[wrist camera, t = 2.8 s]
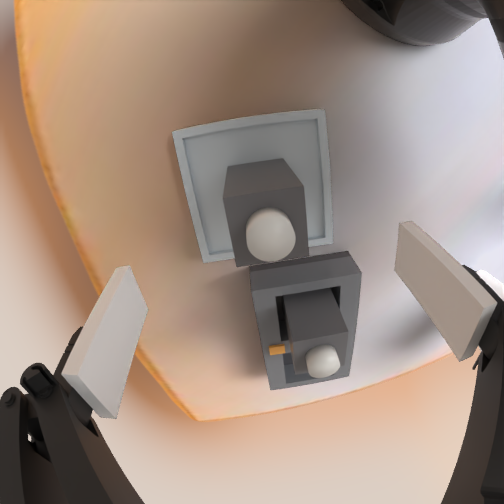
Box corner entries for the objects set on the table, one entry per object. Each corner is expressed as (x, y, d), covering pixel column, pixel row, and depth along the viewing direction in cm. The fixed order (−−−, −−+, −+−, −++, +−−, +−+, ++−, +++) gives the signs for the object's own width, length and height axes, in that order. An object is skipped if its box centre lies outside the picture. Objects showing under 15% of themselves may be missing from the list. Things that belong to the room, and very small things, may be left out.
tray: (175, 130, 22) (171, 132, 20) (319, 108, 21) (325, 109, 20) (205, 254, 28) (203, 263, 26) (328, 236, 27) (333, 243, 26)
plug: (227, 166, 23) (221, 207, 14) (282, 158, 22) (310, 194, 14) (236, 216, 25) (236, 281, 17) (288, 209, 25) (314, 269, 16)
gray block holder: (249, 266, 28) (255, 346, 19) (347, 251, 28) (390, 321, 19) (267, 366, 36) (275, 435, 27) (341, 353, 36) (362, 418, 27)
